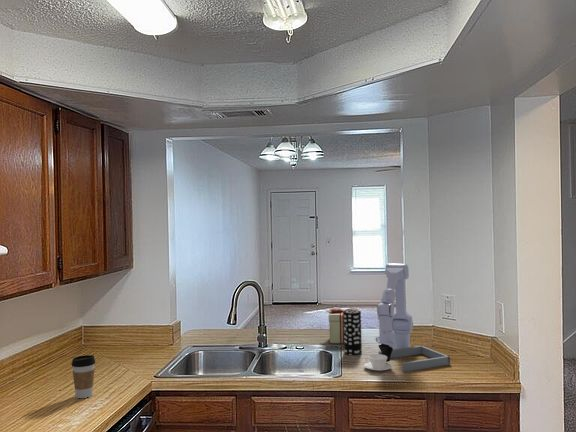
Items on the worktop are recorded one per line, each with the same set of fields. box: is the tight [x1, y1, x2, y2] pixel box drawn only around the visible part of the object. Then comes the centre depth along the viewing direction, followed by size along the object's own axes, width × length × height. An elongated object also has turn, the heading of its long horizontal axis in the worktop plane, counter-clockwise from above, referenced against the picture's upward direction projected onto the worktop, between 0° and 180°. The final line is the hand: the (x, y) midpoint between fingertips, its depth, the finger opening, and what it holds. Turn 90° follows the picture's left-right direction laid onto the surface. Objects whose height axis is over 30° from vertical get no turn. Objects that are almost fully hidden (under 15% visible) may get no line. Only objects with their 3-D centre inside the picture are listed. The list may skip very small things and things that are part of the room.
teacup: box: [363, 353, 393, 372], centre depth 214 cm, size 12×12×5 cm
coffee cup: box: [71, 354, 96, 399], centre depth 188 cm, size 8×8×15 cm
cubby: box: [378, 345, 451, 372], centre depth 223 cm, size 20×24×4 cm
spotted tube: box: [343, 309, 363, 356], centre depth 239 cm, size 8×8×20 cm
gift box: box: [325, 307, 359, 345], centre depth 265 cm, size 17×18×17 cm
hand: (386, 361), depth 218 cm, fingers closed
